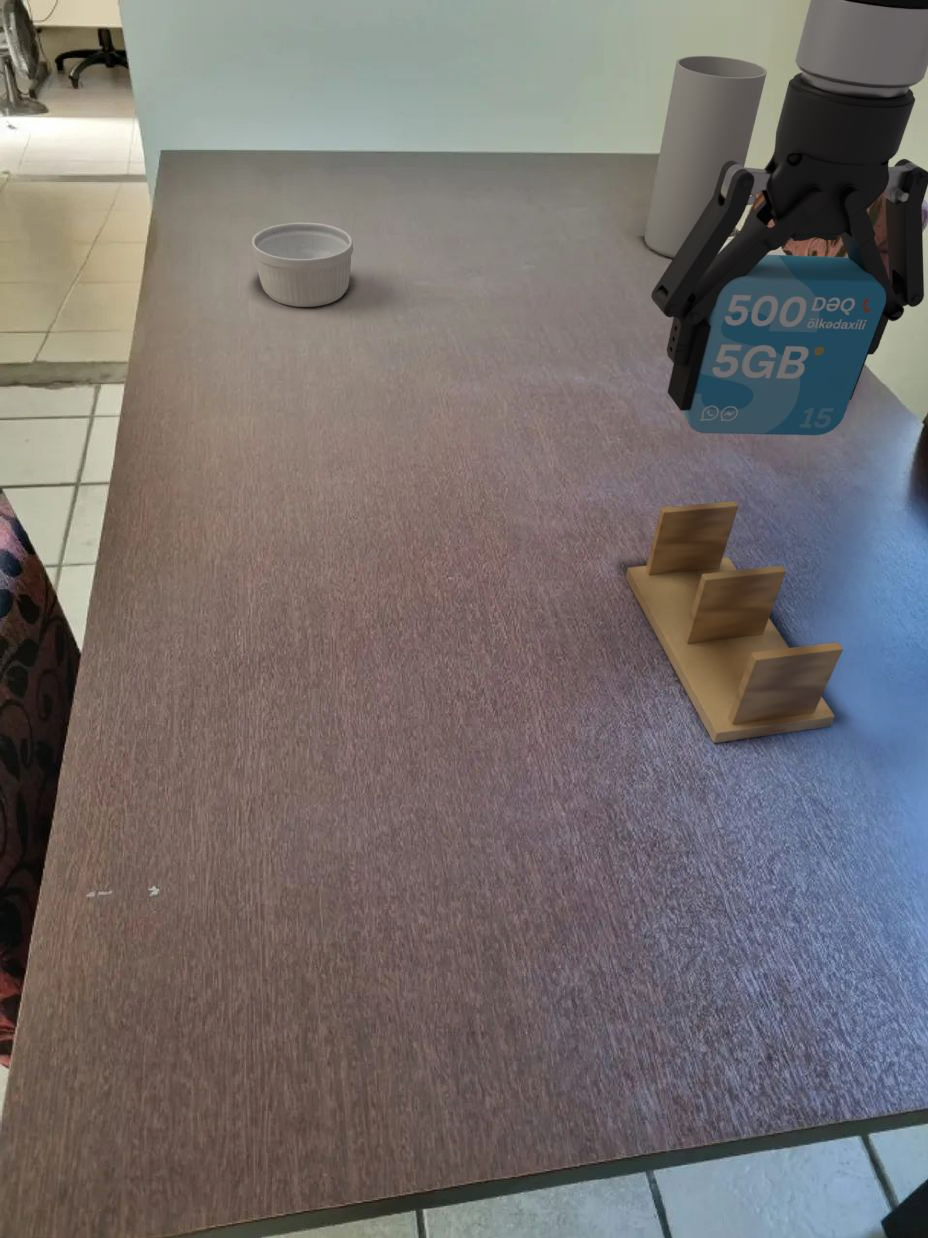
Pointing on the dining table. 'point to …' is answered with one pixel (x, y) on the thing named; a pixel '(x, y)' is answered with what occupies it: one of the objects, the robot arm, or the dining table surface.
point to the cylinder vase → (700, 142)
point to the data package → (786, 347)
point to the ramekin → (303, 263)
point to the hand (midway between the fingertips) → (759, 396)
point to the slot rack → (728, 630)
